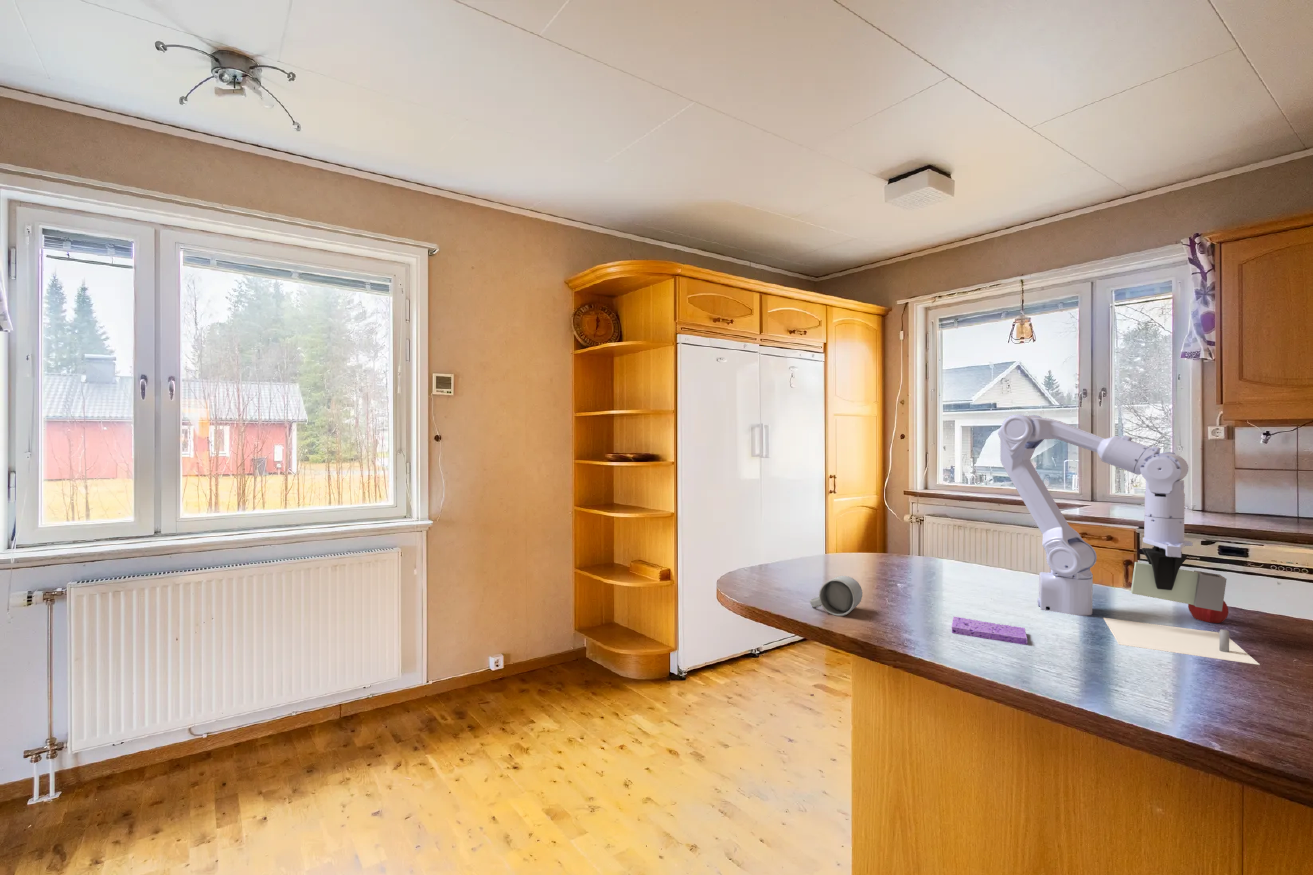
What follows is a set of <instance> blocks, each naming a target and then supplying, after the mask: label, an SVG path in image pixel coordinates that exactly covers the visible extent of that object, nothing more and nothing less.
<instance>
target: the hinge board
mask: <svg viewBox="0 0 1313 875" xmlns="http://www.w3.org/2000/svg"><path fill="white" fill-rule="evenodd" d="M1102 619H1103V620H1104V621H1105V622H1104V623H1106V625H1107V627H1108V629H1109V630H1110V632H1111V633H1112V635H1113V636H1114V638H1115V641H1116V642H1117V644H1118V645H1120V646H1126V647H1132V648H1138V649H1148V650H1153V651H1161V652H1169V653H1173V654H1174V653H1176V654H1180V655H1181V654H1182V655H1189V656H1195V657H1203V658H1210V659H1215V660H1223V661H1229V662H1230V661H1231V662H1237V663H1244V664H1251V665H1258V666H1261V664H1260V663H1259V662H1258V661H1256V659H1254V658H1253V657H1252V656H1251V655H1250V654H1248V652H1246V651H1245V650H1244V649H1243V648H1241V646H1239V645H1238V644H1237V643H1236V642H1235V641H1233V639H1231V638H1230V631H1229V630H1227V629H1221V628H1220V629H1219V631H1218V632H1217V631H1210V630H1203V629H1194V628H1187V627H1186V628H1185V627H1179V626H1172V625H1171V626H1170V625H1162V624H1155V623H1150V622H1149V623H1148V622H1139V621H1131V620H1125V619H1116V618H1108V617H1102Z"/></svg>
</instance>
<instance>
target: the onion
mask: <svg viewBox="0 0 1313 875" xmlns="http://www.w3.org/2000/svg"><path fill="white" fill-rule="evenodd" d="M1187 605H1188V606H1187V607H1188V611H1189V612H1190V614H1191V615H1192V617H1193V618H1194V619H1195V620H1198V621H1201V622H1206V623H1211V624H1221V623H1223V622H1224V621H1225V620H1226V619H1227V618H1228V616H1229V607H1228V604H1227V603H1226V601H1225V600H1224V601H1223V608H1222V611H1216V610H1211V609H1205V608H1200V607H1195V606H1194V605H1191V604H1187Z"/></svg>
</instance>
